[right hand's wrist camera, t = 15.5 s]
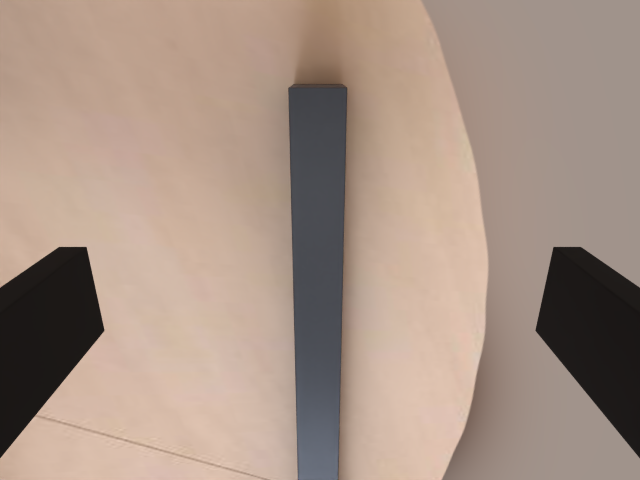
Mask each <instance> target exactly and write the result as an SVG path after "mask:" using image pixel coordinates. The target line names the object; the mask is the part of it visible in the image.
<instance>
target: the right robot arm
mask: <svg viewBox="0 0 640 480" xmlns="http://www.w3.org/2000/svg"><path fill="white" fill-rule="evenodd" d="M103 332H104V326H103V321H102V317H101V312H100V308H99V303H98V298H97V294H96V289H95V284H94V280H93V275H92V270H91V266H90V261H89V257H88V252H87V247H59V248H57V249H56V250H54V251H53V252H51V253H50V254H48V255H47V256H45V257H44V258H43V259H41V260H40V261H38V262H37V263H35V264H34V265H32V266H31V267H30V268H28V269H27V270H25V271H24V272H22V273H21V274H19V275H18V276H17V277H15V278H14V279H12V280H11V281H9V282H8V283H6V284H5V285H3V286H2V287H1V288H0V458H1V457H2V455H3V454H4V453H5V452H6V450H7V449H8V448H9V447H10V446H11V444H12V443H13V442H14V441H15V439H16V438H17V437H18V436H19V435H20V433H21V432H22V431H23V430H24V428H25V427H26V426H27V425H28V424H29V422H30V421H31V420H32V419H33V417H34V416H35V415H36V414H37V413H38V411H39V410H40V409H41V408H42V406H43V405H44V404H45V403H46V402H47V400H48V399H49V398H50V397H51V395H52V394H53V393H54V392H55V390H56V389H57V388H58V387H59V386H60V384H61V383H62V382H63V381H64V379H65V378H66V377H67V376H68V375H69V373H70V372H71V371H72V370H73V368H74V367H75V366H76V365H77V364H78V362H79V361H80V360H81V359H82V357H83V356H84V355H85V354H86V353H87V351H88V350H89V349H90V348H91V346H92V345H93V344H94V343H95V342H96V340H97V339H98V338H99V337H100V335H101V334H102V333H103ZM536 332H537V333H538V334H539V335H540V337H541V338H542V339H543V340H544V341H545V343H546V344H547V345H548V346H549V348H550V349H551V350H552V351H553V353H554V354H555V355H556V356H557V357H558V359H559V360H560V361H561V362H562V364H563V365H564V366H565V367H566V368H567V370H568V371H569V372H570V373H571V375H572V376H573V377H574V378H575V379H576V381H577V382H578V383H579V384H580V386H581V387H582V388H583V389H584V391H585V392H586V393H587V394H588V395H589V397H590V398H591V399H592V400H593V401H594V403H595V404H596V405H597V406H598V408H599V409H600V410H601V411H602V412H603V414H604V415H605V416H606V417H607V419H608V420H609V421H610V422H611V423H612V425H613V426H614V427H615V428H616V430H617V431H618V432H619V433H620V435H621V436H622V437H623V438H624V439H625V441H626V442H627V443H628V444H629V445H630V447H631V448H632V449H633V450H634V452H635V453H636V454H637V455H638V457H639V458H640V288H639V287H638V286H636V285H635V284H634V283H632V282H631V281H629V280H628V279H626V278H625V277H623V276H622V275H621V274H619V273H618V272H616V271H615V270H613V269H612V268H610V267H609V266H608V265H606V264H605V263H603V262H602V261H600V260H599V259H597V258H596V257H594V256H593V255H592V254H590V253H589V252H587V251H586V250H584V249H583V248H581V247H554V248H553V252H552V257H551V261H550V266H549V270H548V275H547V280H546V284H545V289H544V294H543V298H542V303H541V308H540V312H539V317H538V321H537V326H536Z"/></svg>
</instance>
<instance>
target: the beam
mask: <svg viewBox="0 0 640 480" xmlns="http://www.w3.org/2000/svg"><path fill="white" fill-rule="evenodd" d="M346 115H347V87H345V86H344V85H343V84H293V85H292V86H291V87H289V128H290V169H291V210H292V252H293V293H294V334H295V375H296V416H297V457H298V480H338V463H339V420H340V376H341V333H342V289H343V246H344V202H345V159H346Z"/></svg>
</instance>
